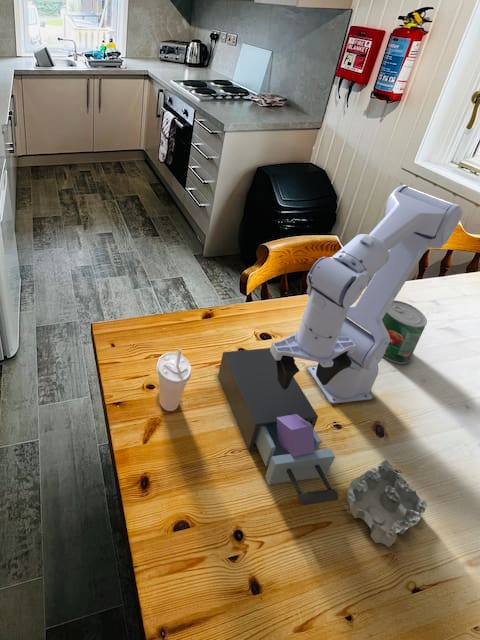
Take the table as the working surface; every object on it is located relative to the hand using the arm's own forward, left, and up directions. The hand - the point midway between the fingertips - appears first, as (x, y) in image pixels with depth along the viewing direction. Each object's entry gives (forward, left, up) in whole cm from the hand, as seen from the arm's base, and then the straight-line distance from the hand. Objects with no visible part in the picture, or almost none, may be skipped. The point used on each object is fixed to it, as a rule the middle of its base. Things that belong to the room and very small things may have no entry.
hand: (301, 382), depth 71 cm
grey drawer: (+4, +6, -9) cm, 12 cm away
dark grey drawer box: (+4, -3, -10) cm, 12 cm away
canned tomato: (-33, -13, -11) cm, 37 cm away
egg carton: (-7, +15, -11) cm, 20 cm away
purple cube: (+4, +8, -5) cm, 10 cm away
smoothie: (+22, -6, -11) cm, 25 cm away
